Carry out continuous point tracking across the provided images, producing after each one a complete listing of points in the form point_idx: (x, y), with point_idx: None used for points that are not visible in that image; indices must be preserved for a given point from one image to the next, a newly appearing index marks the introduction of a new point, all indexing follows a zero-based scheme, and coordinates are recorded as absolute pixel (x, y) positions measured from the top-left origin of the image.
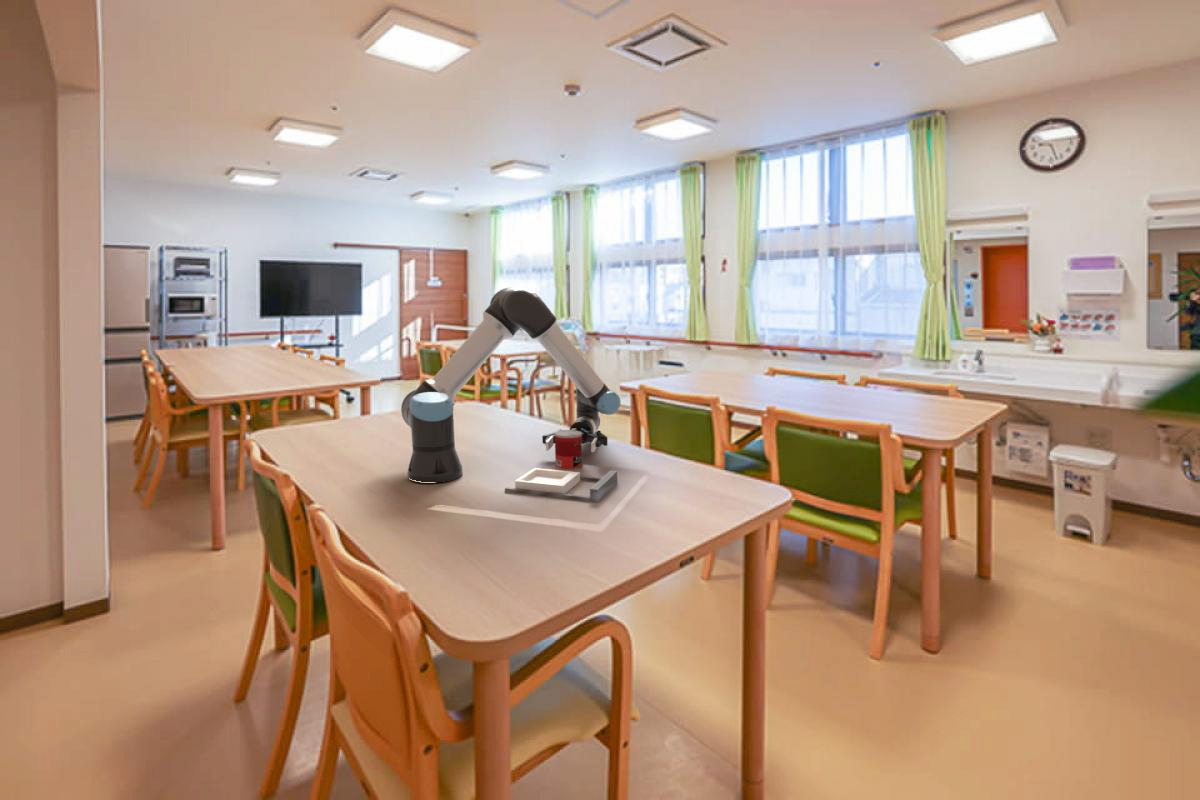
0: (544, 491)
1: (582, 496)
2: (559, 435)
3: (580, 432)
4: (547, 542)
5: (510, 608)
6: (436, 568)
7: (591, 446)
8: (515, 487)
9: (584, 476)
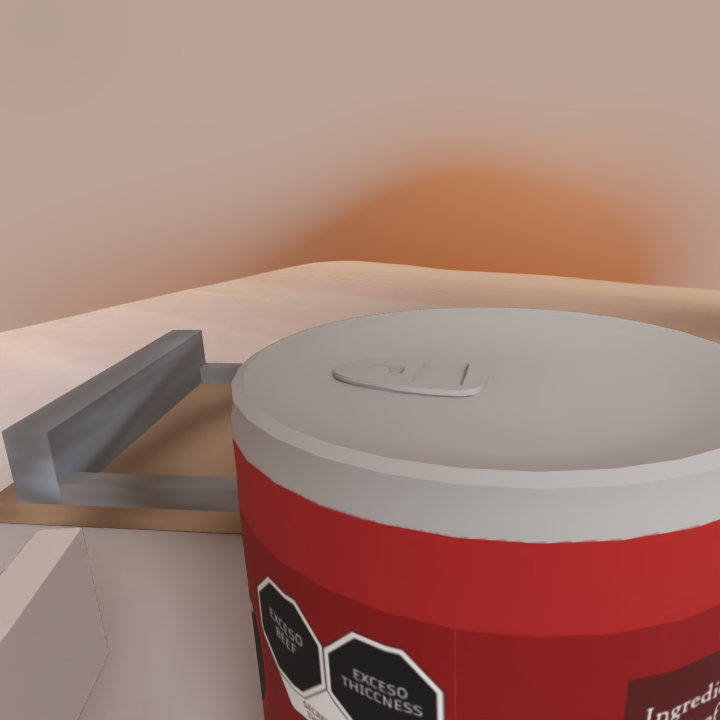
0: None
1: (234, 365)
2: (543, 311)
3: (254, 395)
4: (303, 312)
5: (311, 271)
6: (452, 280)
7: (87, 576)
8: None
9: (230, 485)
